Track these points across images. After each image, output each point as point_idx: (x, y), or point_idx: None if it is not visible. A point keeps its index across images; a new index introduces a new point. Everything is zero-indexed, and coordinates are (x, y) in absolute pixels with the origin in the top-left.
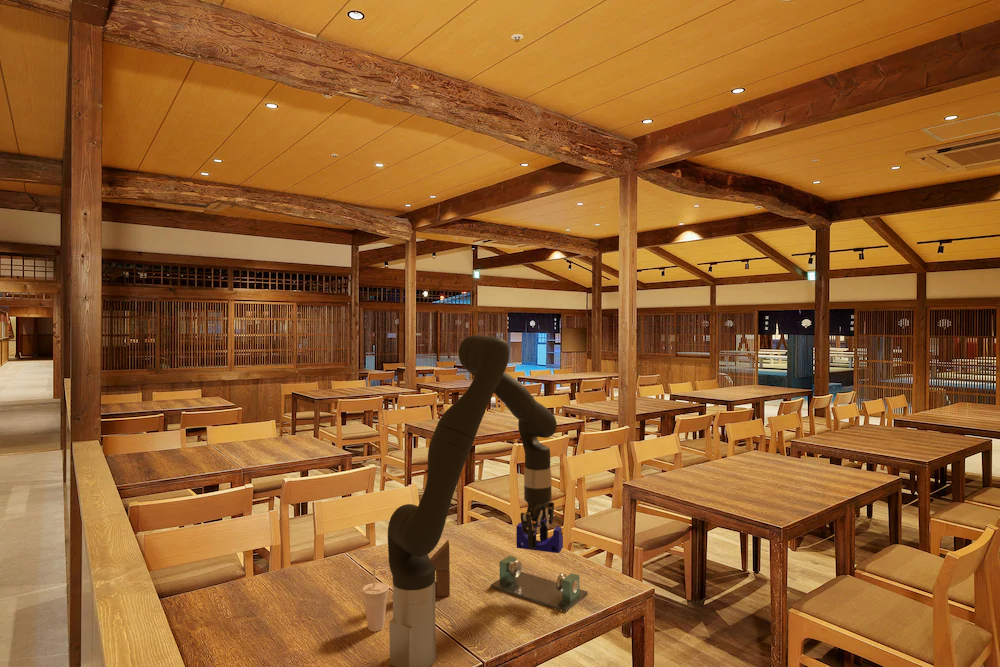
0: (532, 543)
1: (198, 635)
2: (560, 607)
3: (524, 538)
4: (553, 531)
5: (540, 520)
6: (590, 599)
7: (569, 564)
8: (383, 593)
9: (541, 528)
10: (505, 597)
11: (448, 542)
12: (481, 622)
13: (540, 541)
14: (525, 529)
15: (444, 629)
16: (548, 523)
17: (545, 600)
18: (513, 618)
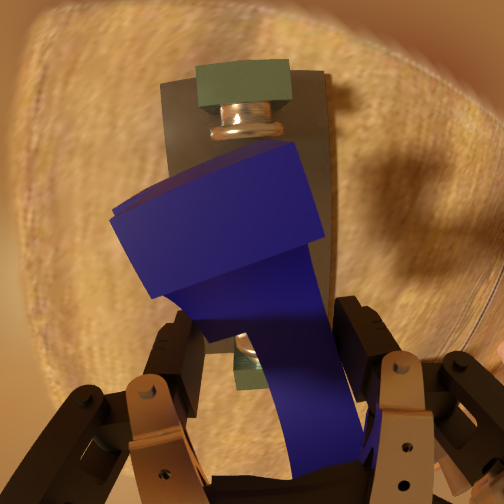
0: (380, 322)
1: None
2: (324, 90)
3: (349, 392)
4: (320, 231)
5: (305, 476)
6: (187, 58)
7: (50, 263)
8: None
9: (193, 406)
10: (350, 276)
11: (439, 460)
12: (468, 238)
13: (251, 329)
14: (451, 415)
15: (499, 274)
16: (138, 407)
17: (317, 156)
18: (430, 186)
